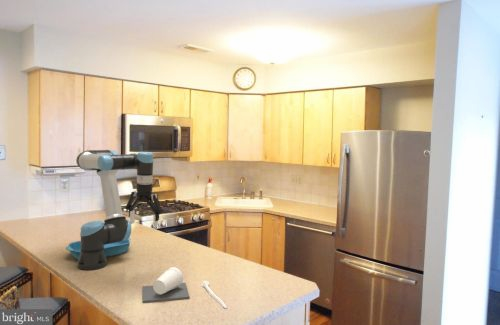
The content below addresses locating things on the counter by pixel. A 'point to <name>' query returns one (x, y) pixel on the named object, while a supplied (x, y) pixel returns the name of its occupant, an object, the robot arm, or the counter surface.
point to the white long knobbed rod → (206, 285)
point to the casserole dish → (108, 248)
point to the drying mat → (165, 294)
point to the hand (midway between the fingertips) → (143, 225)
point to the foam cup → (168, 280)
